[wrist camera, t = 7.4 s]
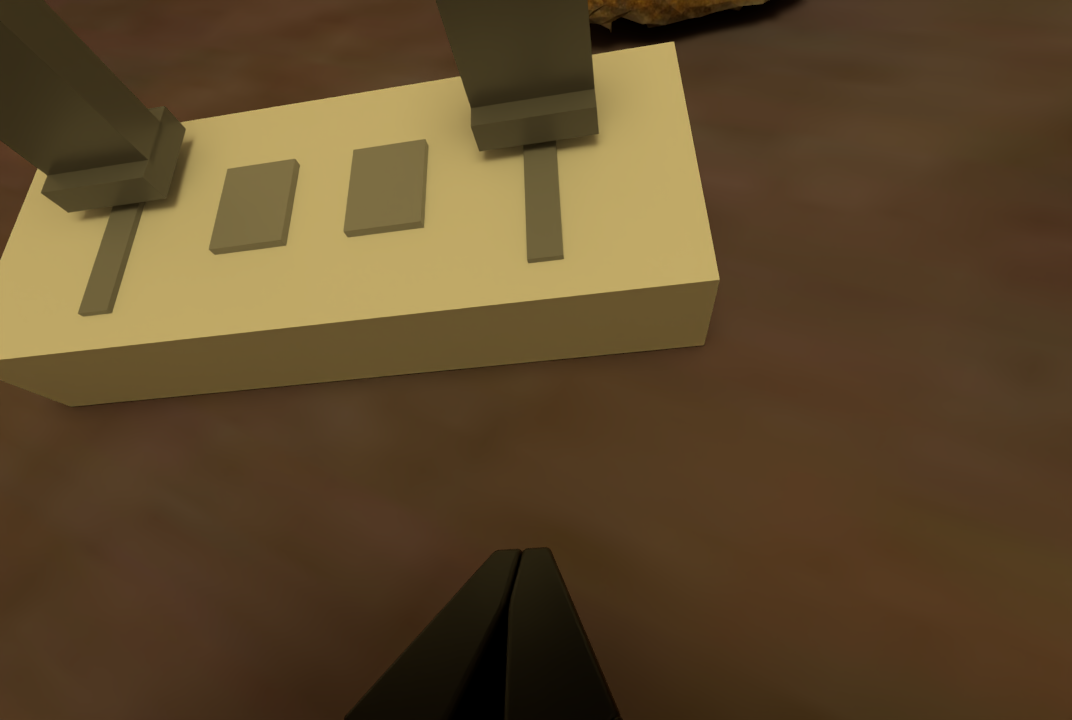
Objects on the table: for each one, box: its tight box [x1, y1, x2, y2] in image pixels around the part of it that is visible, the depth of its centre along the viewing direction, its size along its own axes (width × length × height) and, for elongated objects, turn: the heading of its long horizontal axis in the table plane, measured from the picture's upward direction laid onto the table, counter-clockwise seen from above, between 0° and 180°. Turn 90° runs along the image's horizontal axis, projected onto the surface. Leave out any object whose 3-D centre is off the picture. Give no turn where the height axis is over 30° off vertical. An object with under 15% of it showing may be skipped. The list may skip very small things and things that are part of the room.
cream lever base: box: [0, 42, 720, 407], centre depth 20 cm, size 9×23×4 cm, turn 92°
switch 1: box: [0, 0, 186, 213], centre depth 16 cm, size 3×4×9 cm
